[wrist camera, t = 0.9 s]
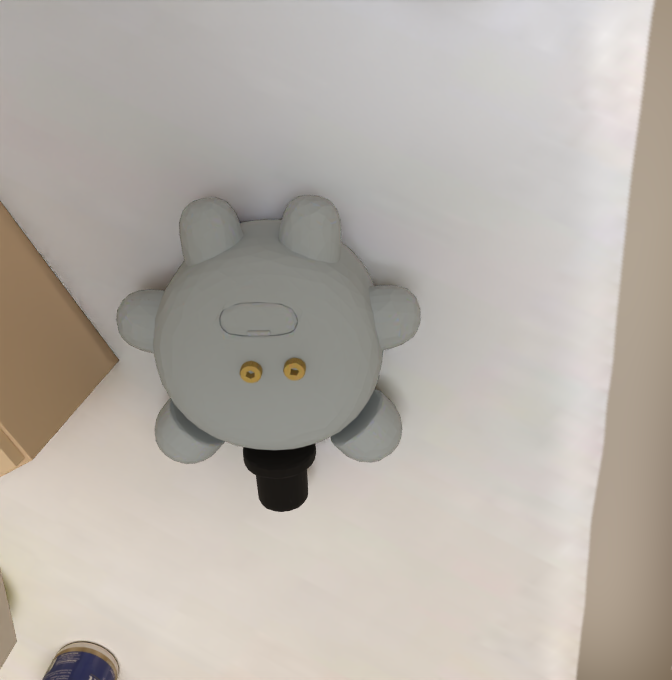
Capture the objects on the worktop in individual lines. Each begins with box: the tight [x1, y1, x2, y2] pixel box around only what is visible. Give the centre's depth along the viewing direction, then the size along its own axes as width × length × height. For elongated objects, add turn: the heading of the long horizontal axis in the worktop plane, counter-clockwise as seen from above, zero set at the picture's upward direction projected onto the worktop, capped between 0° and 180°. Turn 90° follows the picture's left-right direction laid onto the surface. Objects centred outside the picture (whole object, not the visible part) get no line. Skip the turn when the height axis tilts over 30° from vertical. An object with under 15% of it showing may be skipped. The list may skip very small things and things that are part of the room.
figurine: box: [116, 195, 421, 512], centre depth 38 cm, size 17×8×20 cm
